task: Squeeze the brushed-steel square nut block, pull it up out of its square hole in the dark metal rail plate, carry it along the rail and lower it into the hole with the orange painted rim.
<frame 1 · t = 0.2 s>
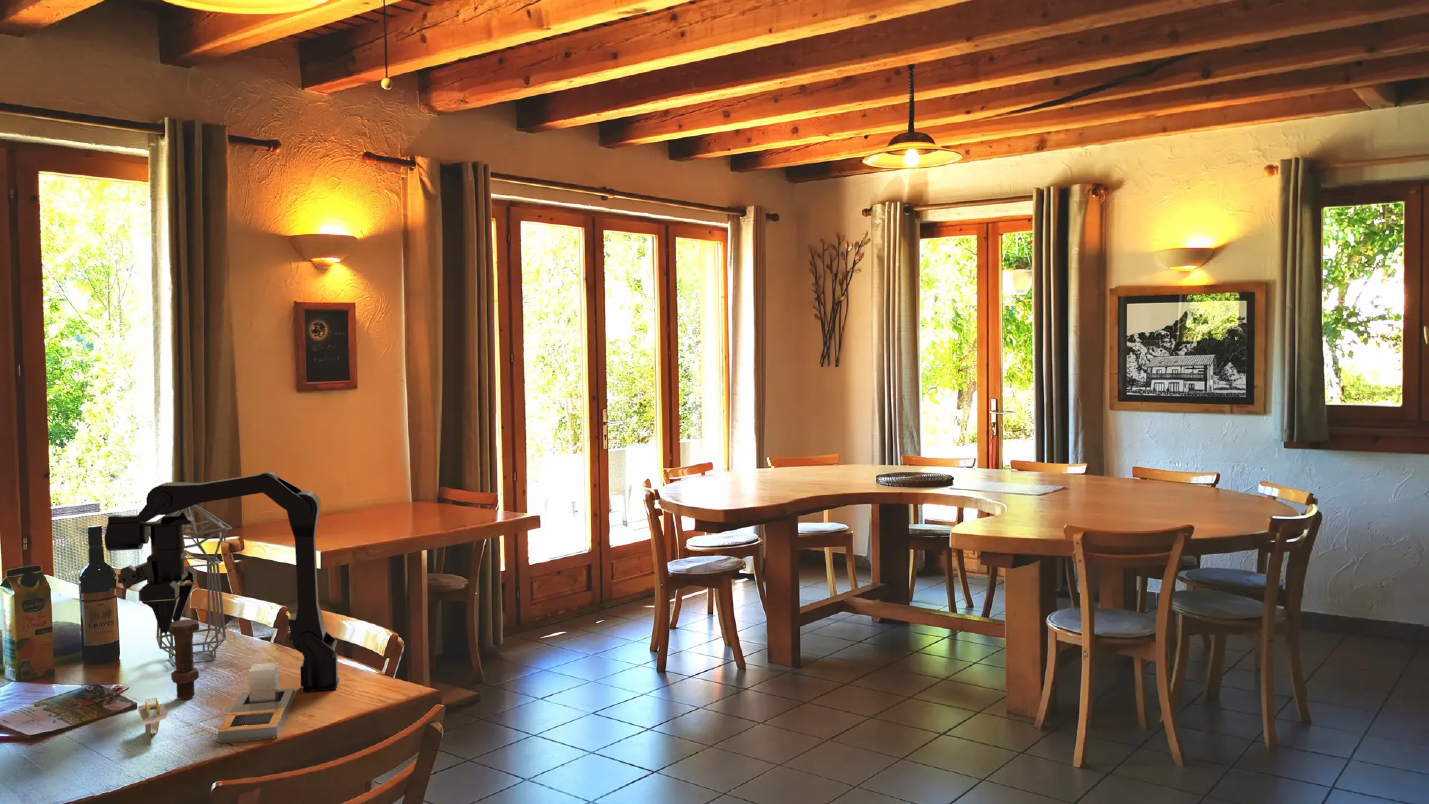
hand: (170, 627, 204), 14 cm above the table, tool pointing down, fingers open, 9 cm apart
geometric lantern: (192, 660, 232), on the table
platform: (153, 741, 184), on the table
bolt: (185, 698, 205), on the table
nut block: (264, 708, 199), resting in rail plate
rail plate: (258, 719, 193), on the table
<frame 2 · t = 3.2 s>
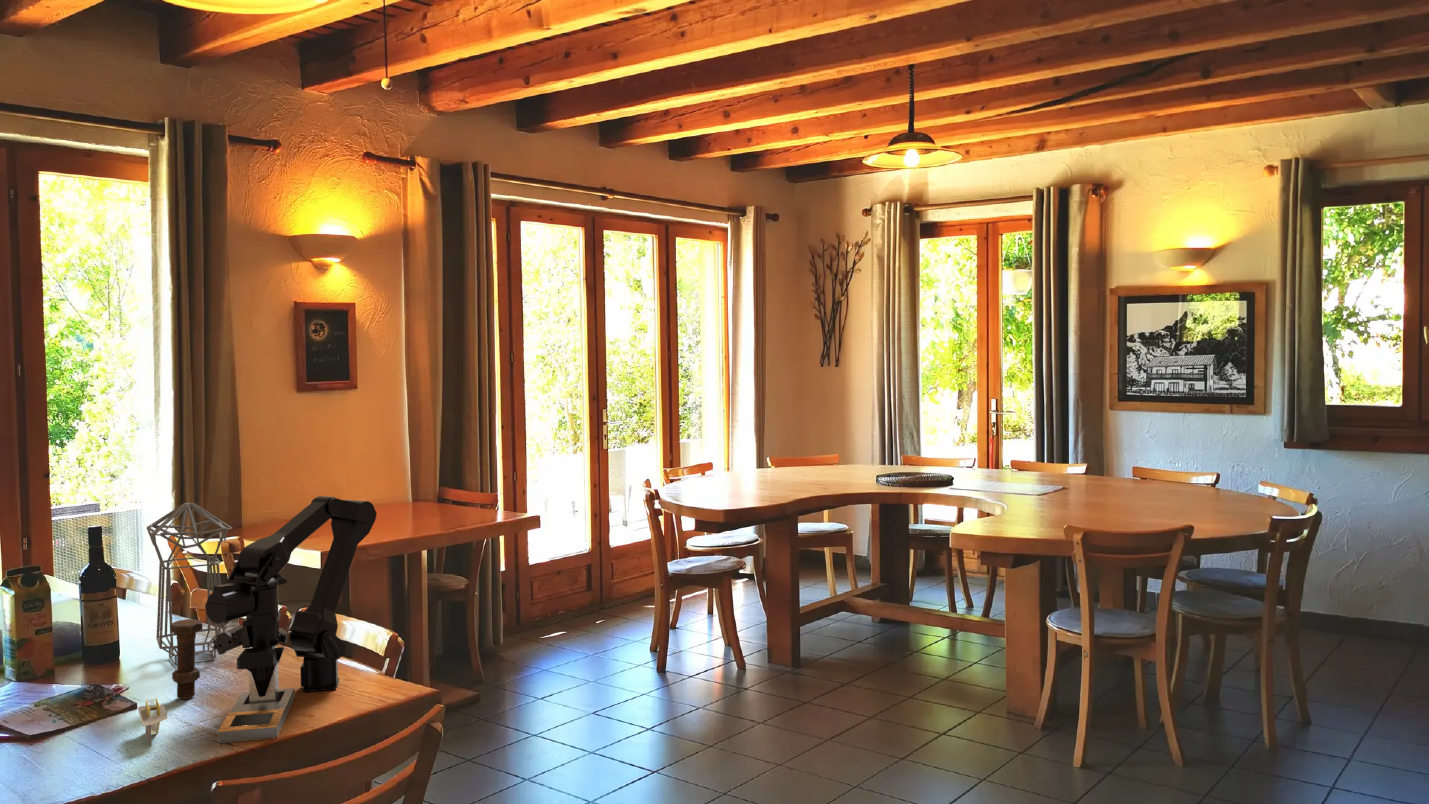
hand: (264, 692, 199), 3 cm above the table, tool pointing down, fingers closed on nut block, 4 cm apart
nut block: (264, 708, 199), resting in rail plate, touching gripper
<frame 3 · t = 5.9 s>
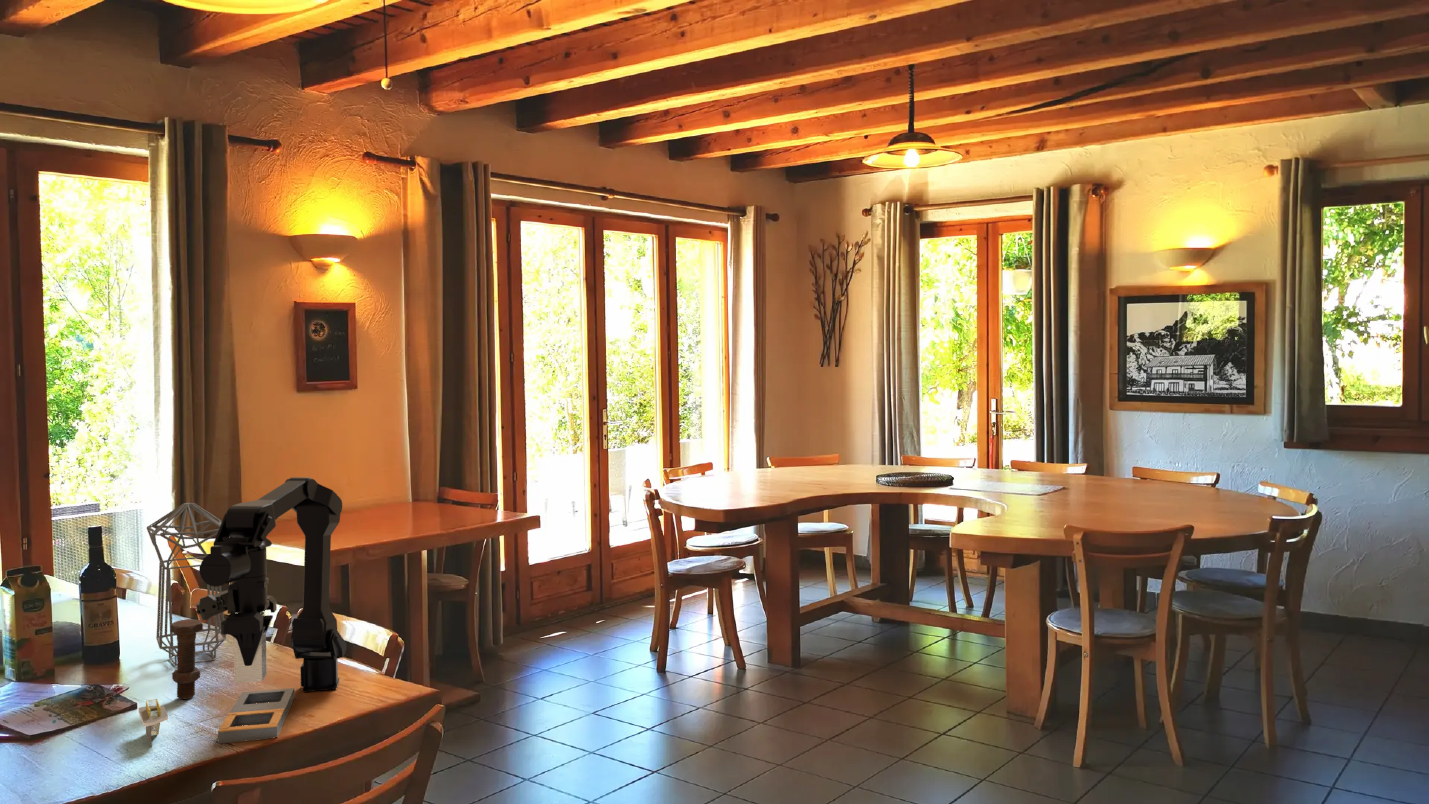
hand: (250, 661, 187), 12 cm above the table, tool pointing down, fingers closed on nut block, 4 cm apart
nut block: (250, 678, 187), point 9 cm above the table, touching gripper
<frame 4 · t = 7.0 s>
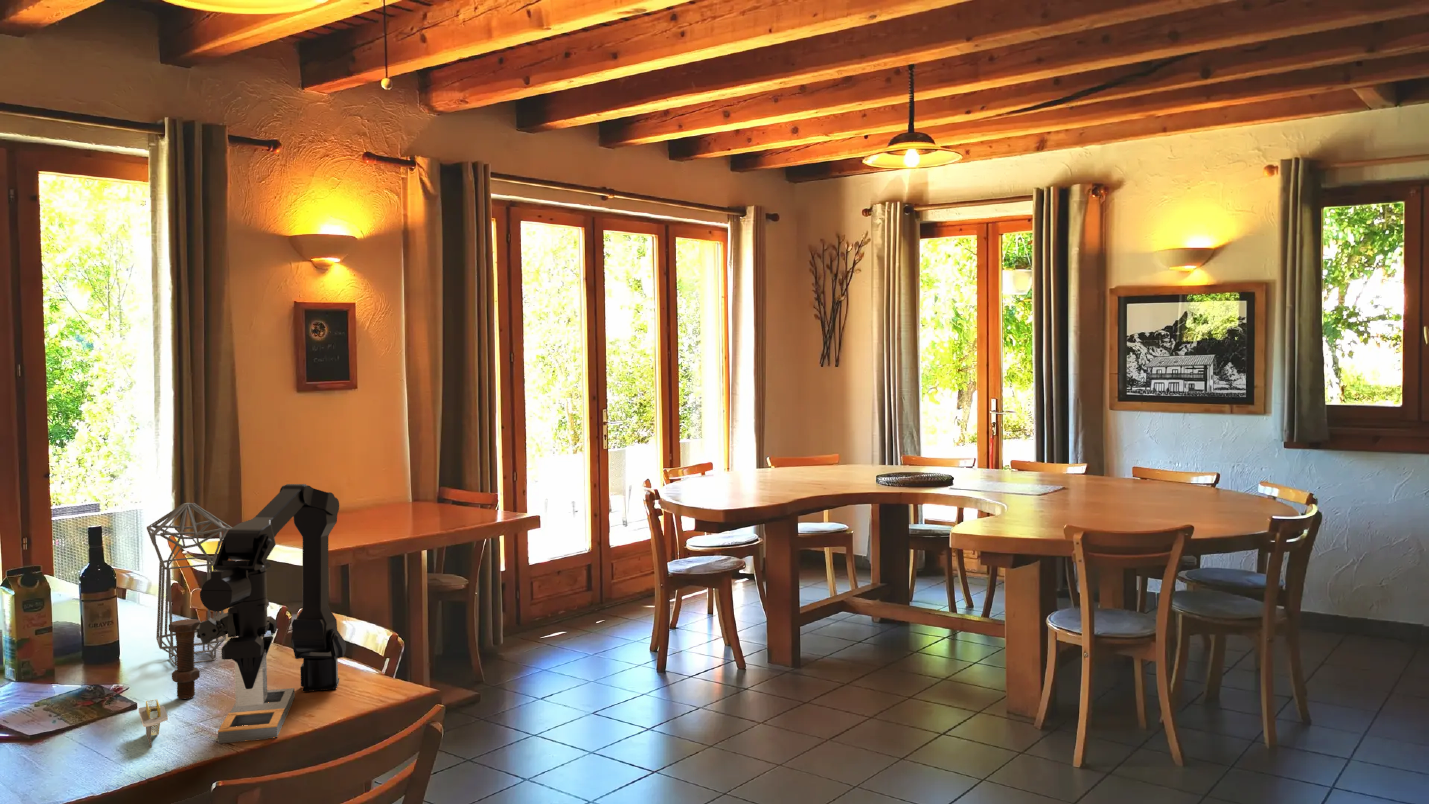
hand: (251, 684, 186), 8 cm above the table, tool pointing down, fingers closed on nut block, 4 cm apart
nut block: (251, 701, 186), point 5 cm above the table, touching gripper
when the fingers open (3 cm above the table, at t = 8.8 s): nut block stays where it is, resting in rail plate.
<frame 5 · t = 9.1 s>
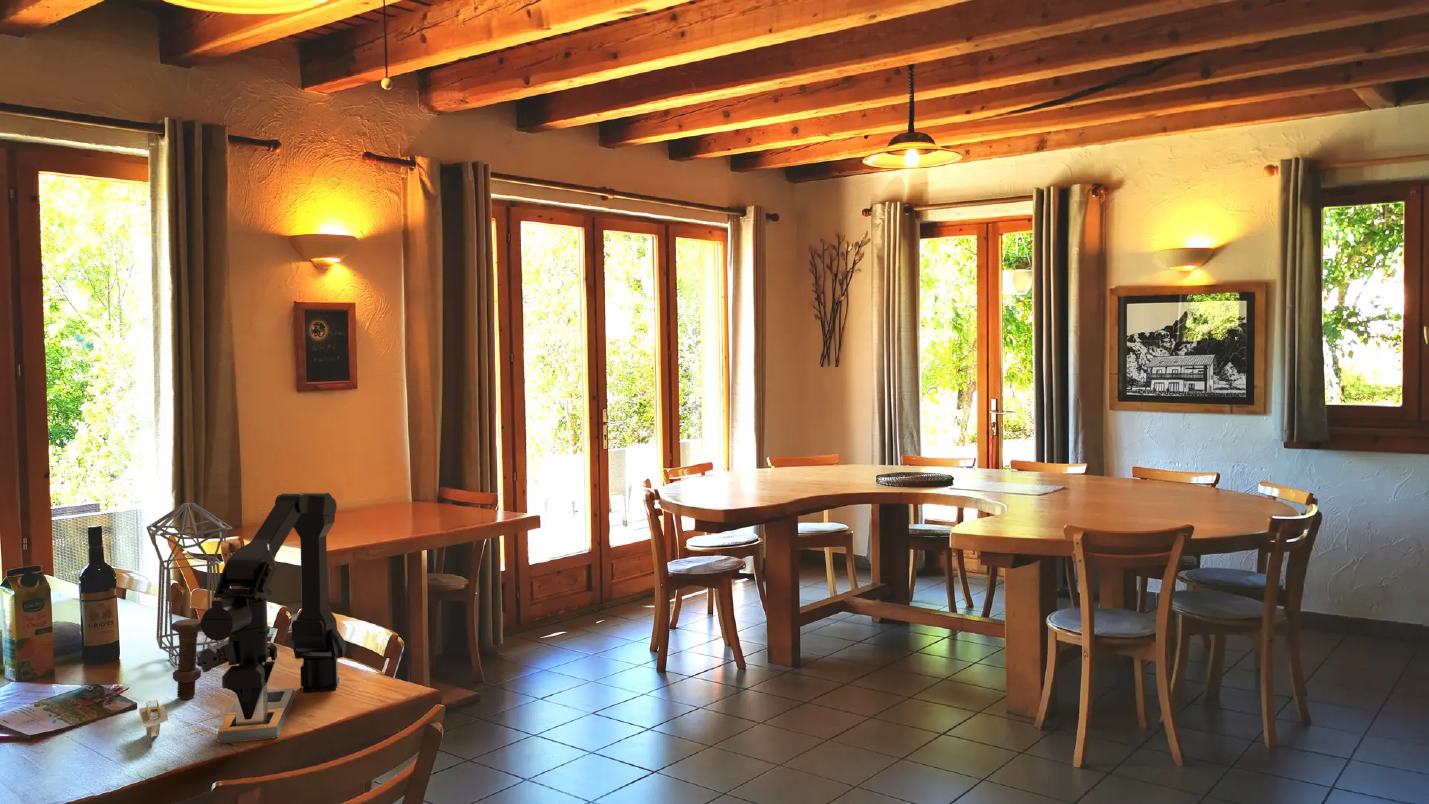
hand: (252, 712, 186), 3 cm above the table, tool pointing down, fingers open, 7 cm apart
nut block: (252, 731, 186), resting in rail plate
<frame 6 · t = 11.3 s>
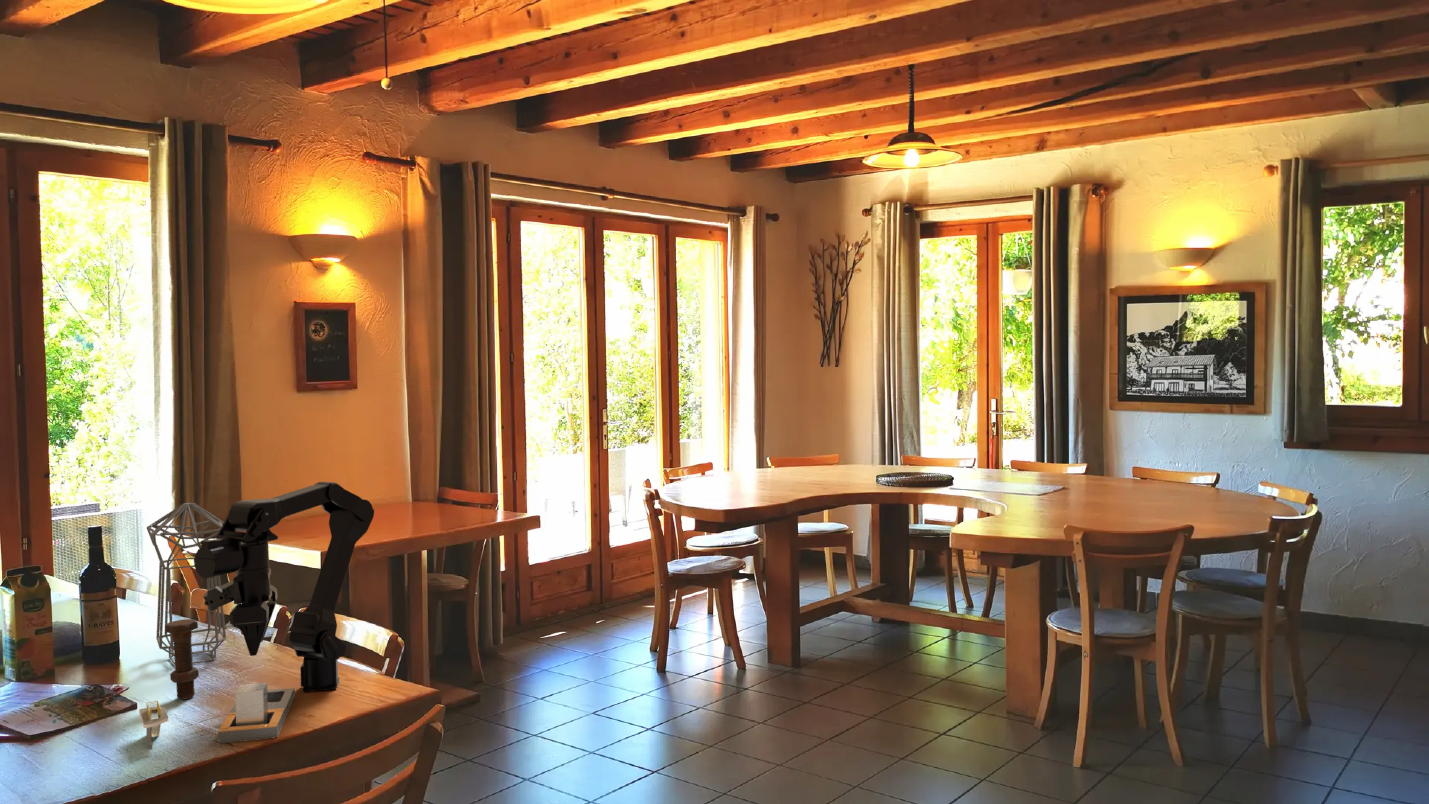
hand: (256, 648, 198), 12 cm above the table, tool pointing down, fingers open, 9 cm apart
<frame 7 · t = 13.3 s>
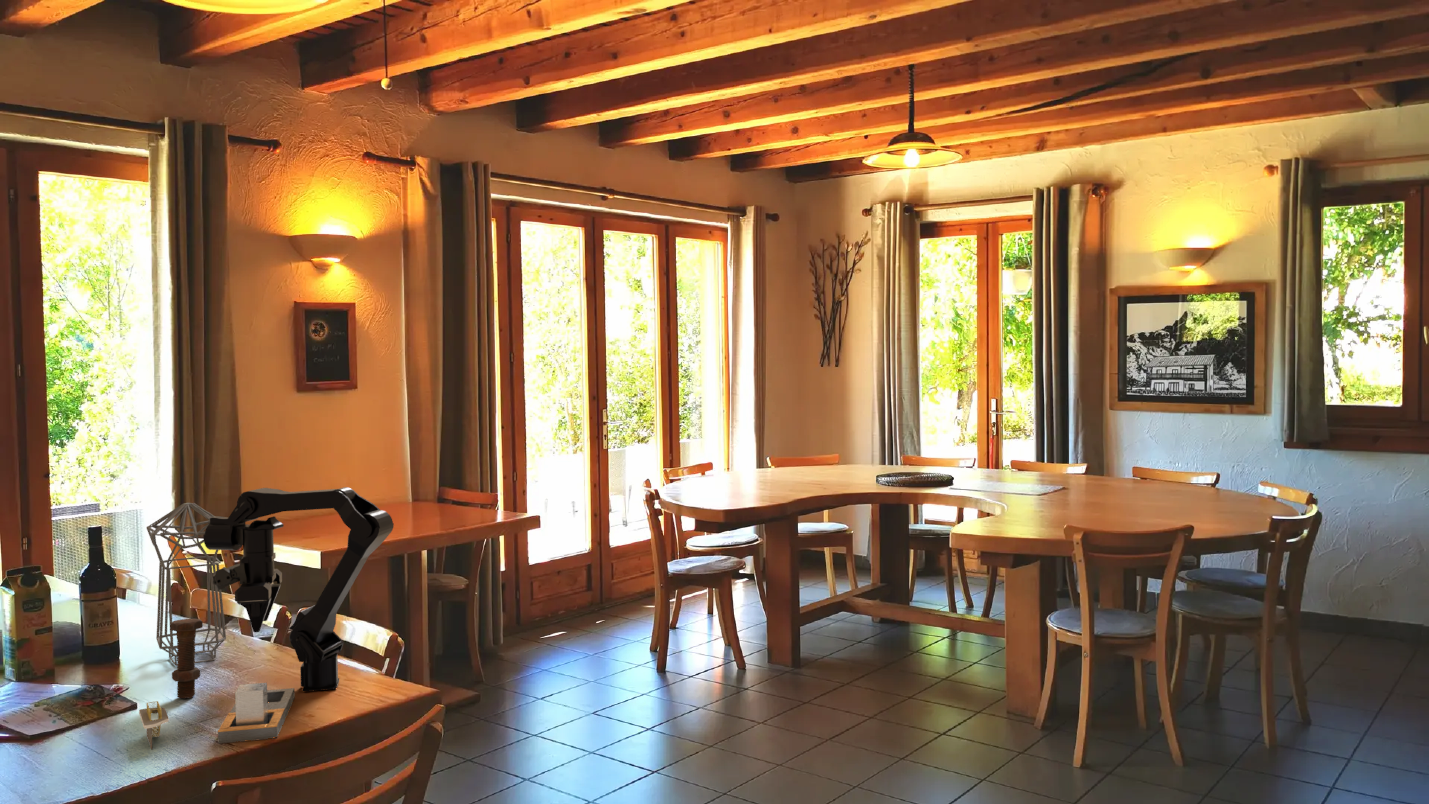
hand: (260, 626, 213), 12 cm above the table, tool pointing down, fingers open, 9 cm apart
at the end: nut block 0.1 cm from the target spot on the rail plate, point 0.0 cm above the rail plate's base; nut block tilted 0°; the gripper is holding nothing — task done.
